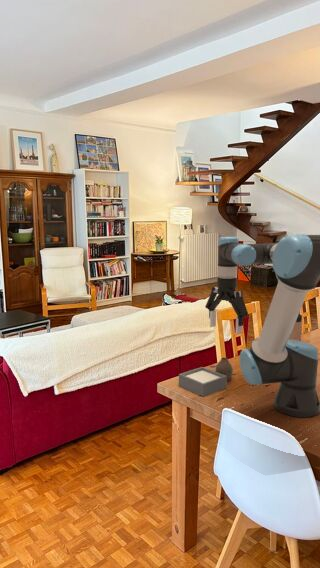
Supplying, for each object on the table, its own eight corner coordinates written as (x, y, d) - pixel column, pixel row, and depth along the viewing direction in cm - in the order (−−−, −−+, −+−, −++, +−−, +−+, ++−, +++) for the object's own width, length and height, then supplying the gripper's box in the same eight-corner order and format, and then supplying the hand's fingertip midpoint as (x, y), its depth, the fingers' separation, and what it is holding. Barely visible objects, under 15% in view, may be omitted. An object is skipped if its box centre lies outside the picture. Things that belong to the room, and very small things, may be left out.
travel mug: (279, 355, 205) (281, 314, 202) (291, 353, 208) (294, 312, 205) (290, 360, 198) (292, 317, 195) (303, 358, 201) (306, 316, 198)
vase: (212, 380, 173) (213, 359, 172) (218, 375, 179) (219, 354, 178) (229, 383, 170) (229, 362, 169) (234, 378, 176) (235, 357, 175)
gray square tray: (226, 387, 166) (227, 376, 166) (203, 396, 158) (203, 384, 157) (202, 377, 176) (202, 366, 175) (178, 385, 168) (178, 374, 167)
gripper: (259, 279, 161) (256, 335, 164) (210, 272, 180) (209, 322, 183) (246, 281, 156) (243, 338, 160) (197, 274, 175) (196, 325, 179)
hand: (225, 330), depth 172 cm, fingers open, 13 cm apart
